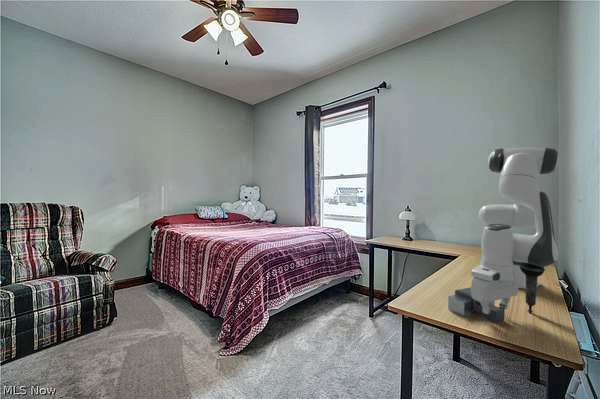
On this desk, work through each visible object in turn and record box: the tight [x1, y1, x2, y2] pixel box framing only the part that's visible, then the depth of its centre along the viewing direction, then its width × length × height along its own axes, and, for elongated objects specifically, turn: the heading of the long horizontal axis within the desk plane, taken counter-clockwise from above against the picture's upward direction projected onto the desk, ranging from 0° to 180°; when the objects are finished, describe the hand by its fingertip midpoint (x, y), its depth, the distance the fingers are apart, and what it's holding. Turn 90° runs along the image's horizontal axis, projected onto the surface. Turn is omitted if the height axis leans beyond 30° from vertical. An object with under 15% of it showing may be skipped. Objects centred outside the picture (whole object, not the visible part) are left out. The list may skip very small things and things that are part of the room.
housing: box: [447, 286, 496, 318], centre depth 92 cm, size 17×6×7 cm, turn 112°
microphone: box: [519, 262, 546, 314], centre depth 90 cm, size 7×7×20 cm
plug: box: [473, 304, 505, 324], centre depth 90 cm, size 4×14×4 cm, turn 21°
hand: (495, 311), depth 84 cm, fingers open, 8 cm apart
